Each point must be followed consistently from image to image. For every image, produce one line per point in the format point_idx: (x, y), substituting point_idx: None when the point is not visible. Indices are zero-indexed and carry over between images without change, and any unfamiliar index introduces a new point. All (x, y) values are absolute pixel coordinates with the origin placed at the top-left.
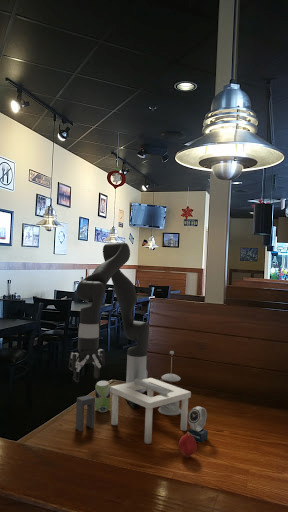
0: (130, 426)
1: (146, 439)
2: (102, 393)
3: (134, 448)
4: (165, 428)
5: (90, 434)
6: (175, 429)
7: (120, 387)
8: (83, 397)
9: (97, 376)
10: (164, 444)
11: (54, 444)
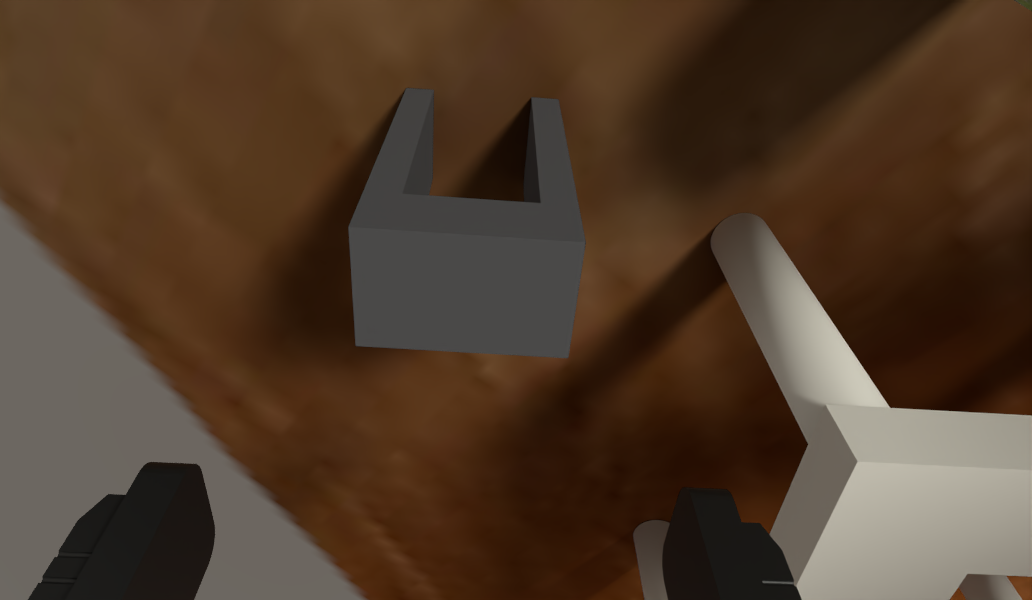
0: None
1: (637, 558)
2: (1029, 3)
3: (534, 537)
4: None
5: None
6: None
7: (906, 549)
8: (440, 271)
9: (673, 596)
10: None
11: (103, 237)
